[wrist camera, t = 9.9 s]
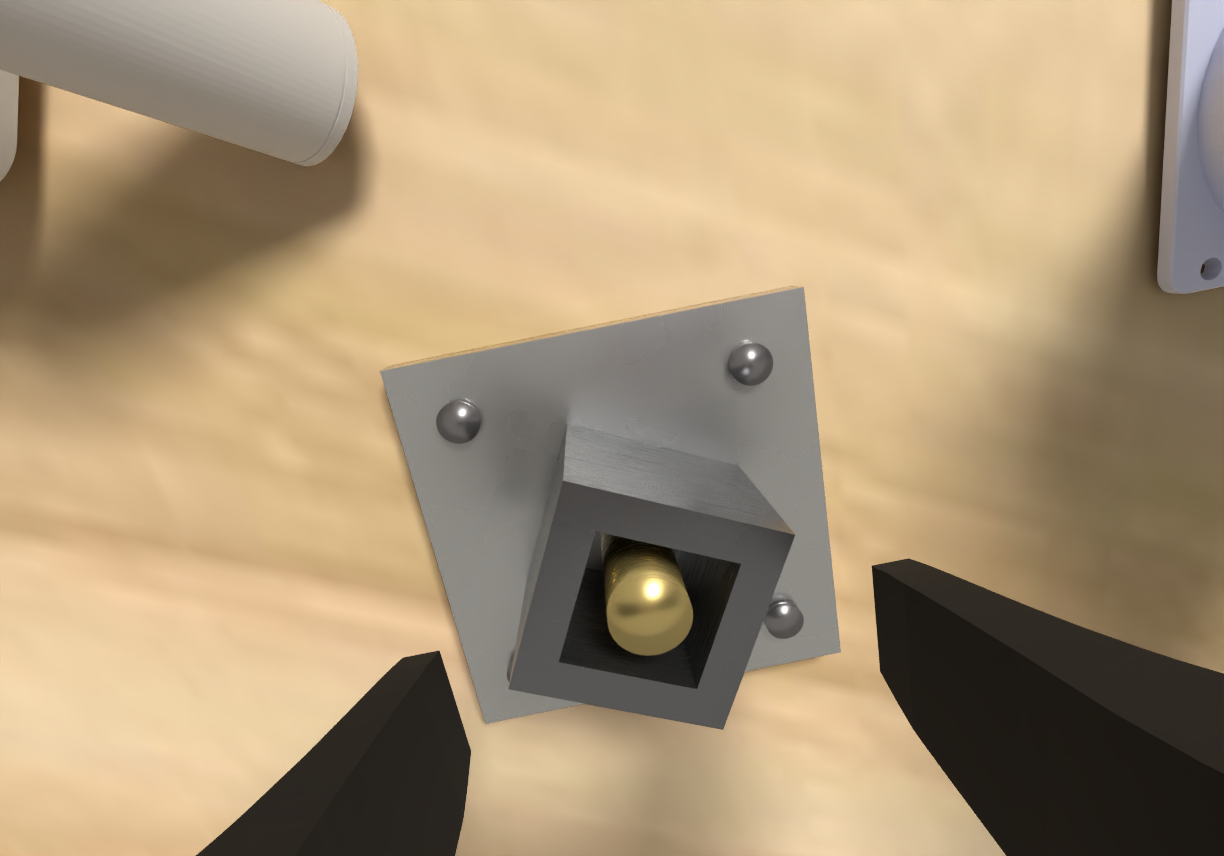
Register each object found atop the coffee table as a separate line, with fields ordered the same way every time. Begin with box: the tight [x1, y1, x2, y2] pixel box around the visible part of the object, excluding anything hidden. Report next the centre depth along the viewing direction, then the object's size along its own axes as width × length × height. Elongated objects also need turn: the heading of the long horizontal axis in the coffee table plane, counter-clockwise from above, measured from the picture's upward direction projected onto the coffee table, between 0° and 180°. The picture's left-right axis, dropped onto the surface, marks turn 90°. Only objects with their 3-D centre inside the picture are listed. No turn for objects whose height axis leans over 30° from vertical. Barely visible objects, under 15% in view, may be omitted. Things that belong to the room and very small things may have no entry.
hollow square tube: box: [508, 424, 795, 730], centre depth 13 cm, size 4×4×4 cm
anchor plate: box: [380, 286, 841, 723], centre depth 13 cm, size 10×10×5 cm
